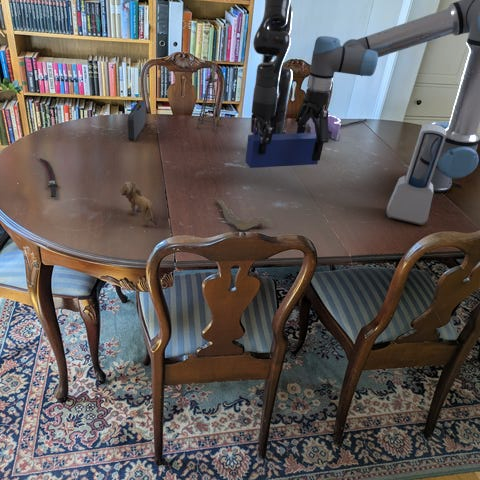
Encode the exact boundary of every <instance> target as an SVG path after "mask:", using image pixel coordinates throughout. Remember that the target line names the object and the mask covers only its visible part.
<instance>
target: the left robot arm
mask: <svg viewBox="0 0 480 480" xmlns="http://www.w3.org/2000/svg"><path fill="white" fill-rule="evenodd" d="M292 24H293V6H292V3H291V0H265V1H264V11H263V17H262V20H261V22H260V24H259V26H258V28H257V30H256V32H255V35H254V37H253V41H252V46H253V49H254V51H255V52H256V54H258V55H262V62H261V63H259V64H258V65H257V66H256V67H257V68H256V74H255V84H254V88H253V93H252V94H253V95H252V104H251V117H250V118H251V122H250V132H251V134H252V135H258V136H259V137H260V145H259V154H260V155H265V154H266V146H267V144H270V143H271V139H272V135H273V134H286V130H284V128H285V122H286V115H287V108H288V103H289V99H290V93H291V88H292V83H293V75H294V74H293V70H292V69H291V68H289V67H285V66H283V64H284V61H285V59H286V57H287V54H288V52H289V50H290V46H291V43H292V42H291V36H290V34H291V31H292V26H293V25H292ZM365 121H366V122H367V118H364V119H361V120H357V121H352V122H348V123H344V124H343V123H342V124H341V126H340V128H341V127H345V126H350V125H354V124H358V123H362V122H365ZM262 137H263V139H262Z"/></svg>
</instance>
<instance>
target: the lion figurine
mask: <svg viewBox="0 0 480 480" xmlns="http://www.w3.org/2000/svg"><path fill="white" fill-rule="evenodd" d="M119 193H120V194H121V196H122V197H124V196H125V198H126V199H127V200H128V202H129V203H130V207H131V211H130V212H129V213H130V215H135V214H136V211H137V212H141V214H142V216H143V218H144V219H145V223H144V225H145V227H149V226H150V221H152V223H153V225H155V226H159V222H156V221H155V219H154V217H153V216H154V215H153V204H152V202H151V200H150V199H148V198H146V197H145V196H144V195H143V194H142V192H141V190H140V187H138V185H136V184H135V183H133V182H132V181H125V182H124V186H122V188H121V189H119ZM136 207H137V208H136ZM148 214H149V216H148Z"/></svg>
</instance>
